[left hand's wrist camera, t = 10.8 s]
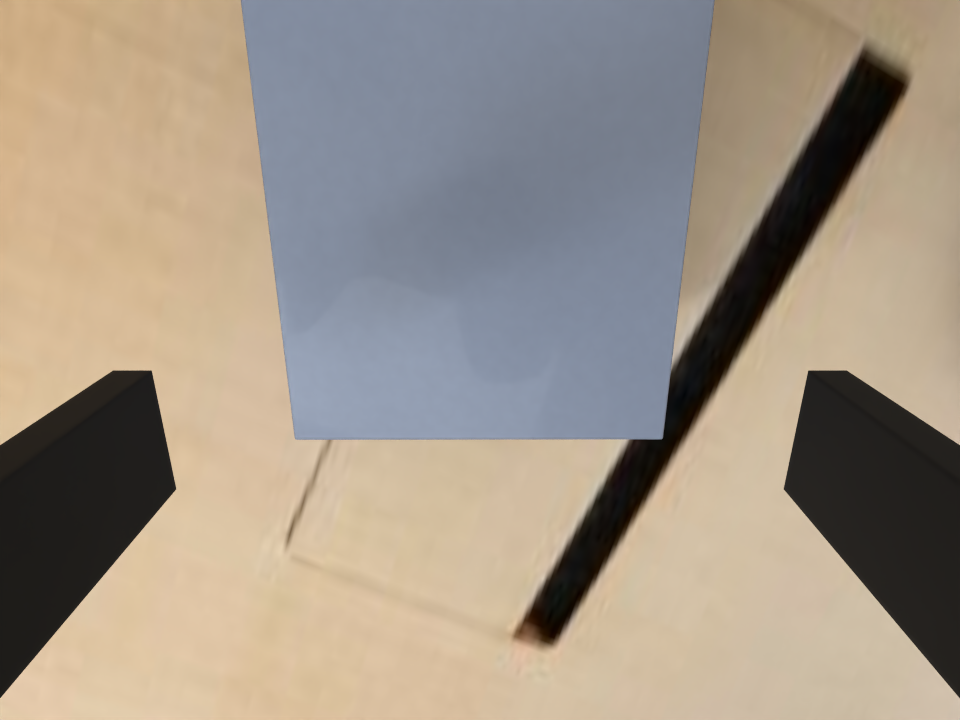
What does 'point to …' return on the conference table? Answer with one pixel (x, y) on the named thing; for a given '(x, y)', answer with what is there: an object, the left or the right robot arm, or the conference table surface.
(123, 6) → the conference table surface
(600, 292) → the cabinet
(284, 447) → the conference table surface
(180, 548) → the conference table surface
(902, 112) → the conference table surface
